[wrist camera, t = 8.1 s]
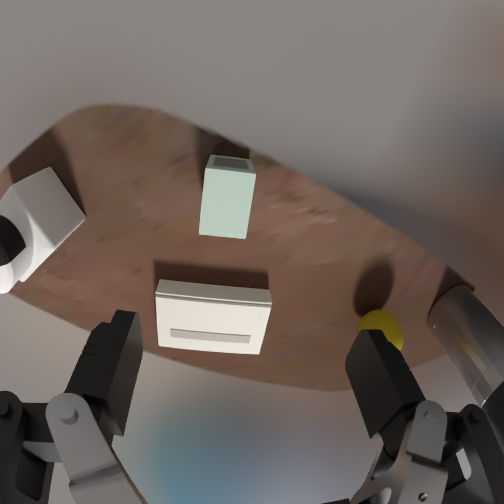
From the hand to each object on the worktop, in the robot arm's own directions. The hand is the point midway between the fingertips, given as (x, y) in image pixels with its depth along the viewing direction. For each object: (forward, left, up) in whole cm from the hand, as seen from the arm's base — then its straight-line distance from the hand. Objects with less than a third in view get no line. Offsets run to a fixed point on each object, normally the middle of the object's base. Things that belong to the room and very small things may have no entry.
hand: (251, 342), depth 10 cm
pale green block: (+1, -1, -18) cm, 19 cm away
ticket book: (+1, +15, -19) cm, 24 cm away
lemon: (-19, +14, -19) cm, 30 cm away
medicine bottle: (+20, +4, -19) cm, 28 cm away
